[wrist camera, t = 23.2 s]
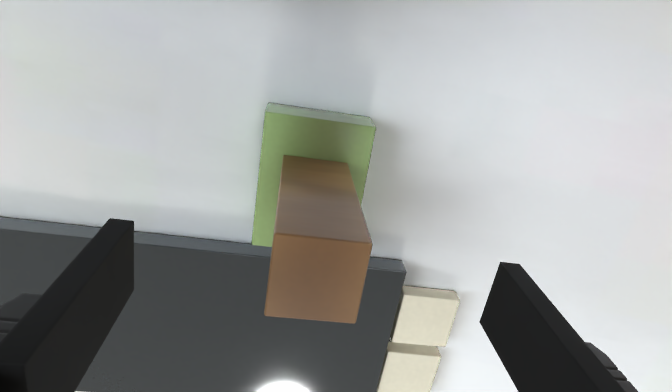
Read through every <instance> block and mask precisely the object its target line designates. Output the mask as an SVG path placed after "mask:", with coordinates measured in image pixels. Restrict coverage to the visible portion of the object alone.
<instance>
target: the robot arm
mask: <svg viewBox="0 0 672 392" xmlns="http://www.w3.org/2000/svg"><path fill="white" fill-rule="evenodd" d="M133 291H134V221H129V220H120V219H111V218H110V219H109V220H108V221H107V222H106V223H105V225H104V226H103V227H102V228H101V229H100V230H99V231H98V232H97V234H96V235H95V236H94V237H93V238H92V239H91V240H90V242H89V243H88V244H87V245H86V246H85V247H84V248H83V249H82V251H81V252H80V253H79V254H78V255H77V256H76V257H75V258H74V260H73V261H72V262H71V263H70V264H69V265H68V266H67V268H66V269H65V270H64V271H63V272H62V273H61V274H60V275H59V277H58V278H57V279H56V280H55V281H54V282H53V283H52V284H51V286H50V287H49V288H48V289H47V290H46V291H45V292H44V294H43V295H42V294H31V293H22V294H20V295H18V296H16V297H14V298H13V299H11V300H9V301H7V302H5V303H4V304H2V305H1V306H0V392H75V390H76V389H77V387H78V385H79V383H80V382H81V380H82V378H83V377H84V375H85V373H86V371H87V370H88V368H89V366H90V365H91V363H92V361H93V359H94V358H95V356H96V354H97V353H98V351H99V349H100V347H101V346H102V344H103V342H104V340H105V339H106V337H107V335H108V334H109V332H110V330H111V328H112V327H113V325H114V323H115V322H116V320H117V318H118V316H119V315H120V313H121V311H122V310H123V308H124V306H125V304H126V303H127V301H128V299H129V298H130V296H131V294H132V292H133ZM480 323H481V325H482V327H483V329H484V331H485V332H486V334H487V336H488V338H489V340H490V341H491V343H492V345H493V347H494V349H495V350H496V352H497V354H498V356H499V358H500V359H501V361H502V363H503V365H504V367H505V368H506V370H507V372H508V374H509V375H510V377H511V379H512V381H513V383H514V384H515V386H516V388H517V390H518V392H638V391H637V390H636V389H635V387H634V386H633V385H632V384H631V383H630V382H629V381H627V378H626V377H625V376H624V375H623V374H622V372H621V371H619V370H618V368H617V367H616V365H615V364H614V363H613V362H612V361H611V360H610V359H609V357H608V356H607V355H606V354H605V353H603V352H602V351H601V350H599V349H598V348H597V347H595V346H594V345H593V344H591V343H587V342H584V341H583V340H582V338H581V337H580V336H579V335H578V334H577V332H576V331H575V330H574V329H573V328H572V326H571V325H570V324H569V323H568V322H567V320H566V319H565V318H564V317H563V316H562V314H561V313H560V312H559V311H558V310H557V308H556V307H555V306H554V305H553V304H552V302H551V301H550V300H549V299H548V298H547V296H546V295H545V294H544V293H543V292H542V290H541V289H540V288H539V287H538V286H537V284H536V283H535V282H534V281H533V280H532V278H531V277H530V276H529V275H528V274H527V272H526V271H525V270H524V269H523V268H522V266H521V265H520V264H514V263H505V262H500V264H499V267H498V270H497V273H496V276H495V279H494V282H493V285H492V288H491V290H490V293H489V296H488V299H487V302H486V305H485V308H484V311H483V314H482V316H481V319H480Z"/></svg>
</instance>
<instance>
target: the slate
mask: <svg viewBox="0 0 672 392" xmlns="http://www.w3.org/2000/svg"><path fill="white" fill-rule="evenodd" d="M100 229H101V228H98V227H89V226H80V225H71V224H61V223H52V222H43V221H34V220H25V219H15V218H6V217H0V306H1V305H2V304H4V303H5V302H7V301H9V300H11V299H13V298H14V297H16V296H18V295H20V294H22V293H31V294H42V295H43V294H44V292H45V291H46V290H47V289H48V288H49V287H50V286H51V284H52V283H53V282H54V281H55V280H56V279H57V278H58V277H59V275H60V274H61V273H62V272H63V271H64V270H65V269H66V268H67V266H68V265H69V264H70V263H71V262H72V261H73V260H74V258H75V257H76V256H77V255H78V254H79V253H80V252H81V251H82V249H83V248H84V247H85V246H86V245H87V244H88V243H89V242H90V240H91V239H92V238H93V237H94V236H95V235H96V234H97V232H98V231H99V230H100ZM271 251H272V247H266V246H257V245H252V244H246V243H237V242H227V241H218V240H209V239H200V238H190V237H181V236H172V235H163V234H154V233H144V232H135V231H134V291H133V292H132V294H131V296H130V298H129V299H128V301H127V303H126V304H125V306H124V308H123V310H122V311H121V313H120V315H119V316H118V318H117V320H116V322H115V323H114V325H113V327H112V328H111V330H110V332H109V334H108V335H107V337H106V339H105V340H104V342H103V344H102V346H101V347H100V349H99V351H98V353H97V354H96V356H95V358H94V359H93V361H92V363H91V365H90V366H89V368H88V370H87V371H86V373H85V375H84V377H83V378H82V380H81V382H80V383H79V385H78V387H77V389H76V390H75V391H83V392H376V390H377V386H378V382H379V378H380V374H381V370H382V366H383V362H384V358H385V354H386V350H387V346H388V342H389V338H390V335H391V331H392V327H393V323H394V319H395V315H396V311H397V307H398V303H399V299H400V295H401V291H402V287H403V283H404V279H405V275H406V270H405V267H404V265H403V262H402V261H401V260H393V259H384V258H375V257H370V259H369V264H368V268H367V273H366V278H365V282H364V287H363V292H362V297H361V301H360V306H359V311H358V315H357V320H356V323H354V324H353V323H341V322H330V321H318V320H306V319H295V318H283V317H271V316H265V315H264V310H265V302H266V293H267V285H268V276H269V268H270V259H271Z"/></svg>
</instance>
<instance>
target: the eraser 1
mask: <svg viewBox="0 0 672 392" xmlns="http://www.w3.org/2000/svg"><path fill="white" fill-rule="evenodd" d="M459 303H460V299H459V298H458V296H457V294H456V292H455V291H450V290H440V289H431V288H421V287H412V286H403V287H402V291H401V295H400V299H399V303H398V307H397V311H396V315H395V319H394V323H393V327H392V331H391V335H390V337H391V341H392V342H395V343H406V344H417V345H429V346H440V347H446V344H447V341H448V338H449V335H450V331H451V328H452V325H453V322H454V319H455V316H456V312H457V309H458V306H459Z"/></svg>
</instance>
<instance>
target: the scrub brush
mask: <svg viewBox="0 0 672 392" xmlns="http://www.w3.org/2000/svg"><path fill="white" fill-rule="evenodd" d="M375 131H376V127H375V125H374V123H373V122H372V120H371V119H370V117H365V116H358V115H351V114H344V113H337V112H330V111H323V110H316V109H309V108H302V107H295V106H288V105H282V104H275V103H268V105H267V108H266V111H265V118H264V127H263V137H262V147H261V156H260V166H259V176H258V186H257V195H256V205H255V215H254V224H253V234H252V245H257V246H266V247H272V251H271V259H270V268H269V276H268V285H267V293H266V302H265V310H264V315H265V316H271V317H283V318H295V319H306V320H318V321H330V322H341V323H353V324H354V323H356V320H357V315H358V311H359V306H360V301H361V297H362V292H363V287H364V282H365V278H366V273H367V268H368V264H369V259H370V254H371V249H372V245H373V244H372V241H371V238H370V234H369V231H368V228H367V225H366V221H365V218H364V215H363V212H362V209H361V203H362V198H363V192H364V187H365V182H366V177H367V172H368V167H369V162H370V156H371V151H372V146H373V141H374V136H375Z"/></svg>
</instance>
